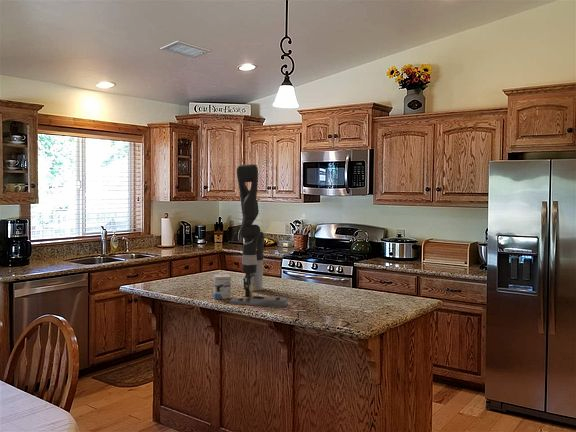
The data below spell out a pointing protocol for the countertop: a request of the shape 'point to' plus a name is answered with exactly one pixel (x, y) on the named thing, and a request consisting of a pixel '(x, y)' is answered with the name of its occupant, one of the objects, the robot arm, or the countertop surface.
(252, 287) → the link pin
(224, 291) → the ink box
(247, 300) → the link plates
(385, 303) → the countertop surface
